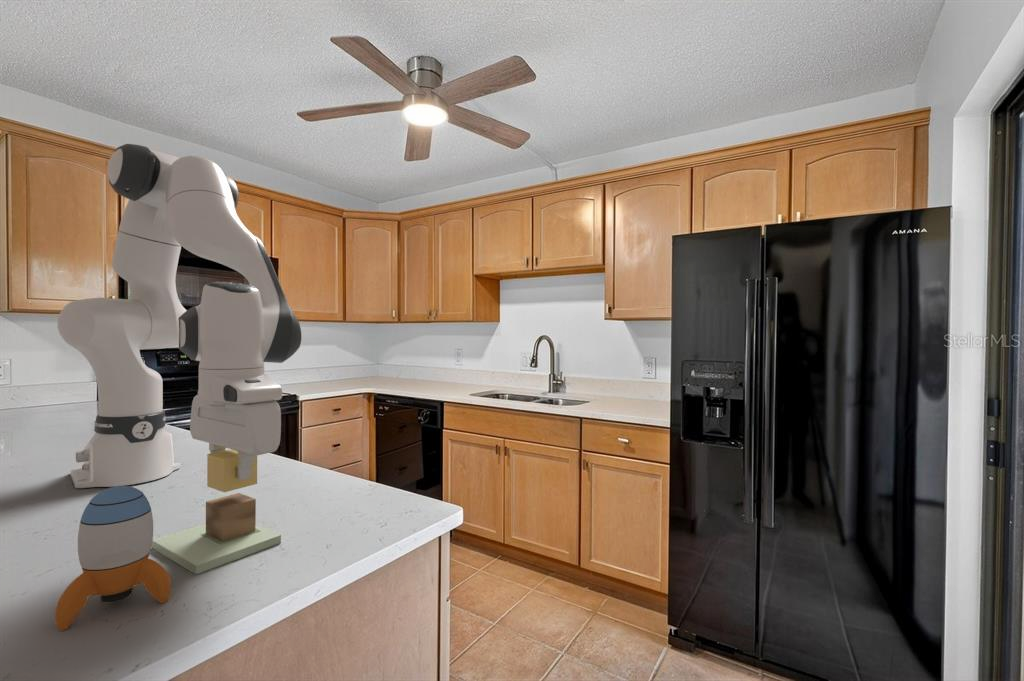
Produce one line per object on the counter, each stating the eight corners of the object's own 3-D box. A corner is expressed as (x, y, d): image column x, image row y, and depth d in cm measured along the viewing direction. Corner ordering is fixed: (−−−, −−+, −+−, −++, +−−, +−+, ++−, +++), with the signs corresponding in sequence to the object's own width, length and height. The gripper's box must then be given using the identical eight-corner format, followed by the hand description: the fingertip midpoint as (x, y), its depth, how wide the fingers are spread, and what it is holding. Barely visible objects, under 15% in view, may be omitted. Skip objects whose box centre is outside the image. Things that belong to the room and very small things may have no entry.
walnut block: (205, 533, 75) (205, 501, 75) (238, 523, 79) (238, 492, 79) (222, 541, 72) (222, 508, 72) (255, 530, 76) (255, 499, 76)
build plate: (151, 547, 72) (151, 539, 72) (233, 522, 83) (233, 514, 83) (196, 574, 65) (196, 564, 65) (280, 542, 75) (280, 534, 75)
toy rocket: (98, 593, 62) (132, 474, 64) (184, 604, 63) (215, 487, 65) (28, 630, 52) (71, 487, 54) (132, 643, 53) (170, 502, 55)
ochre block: (207, 486, 75) (207, 454, 74) (240, 478, 79) (240, 447, 79) (224, 492, 72) (224, 459, 72) (257, 483, 76) (257, 452, 76)
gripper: (178, 383, 78) (178, 468, 78) (246, 393, 67) (246, 492, 67) (219, 380, 83) (219, 460, 84) (289, 389, 72) (288, 481, 72)
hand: (232, 474), depth 75 cm, fingers closed on ochre block, 5 cm apart
